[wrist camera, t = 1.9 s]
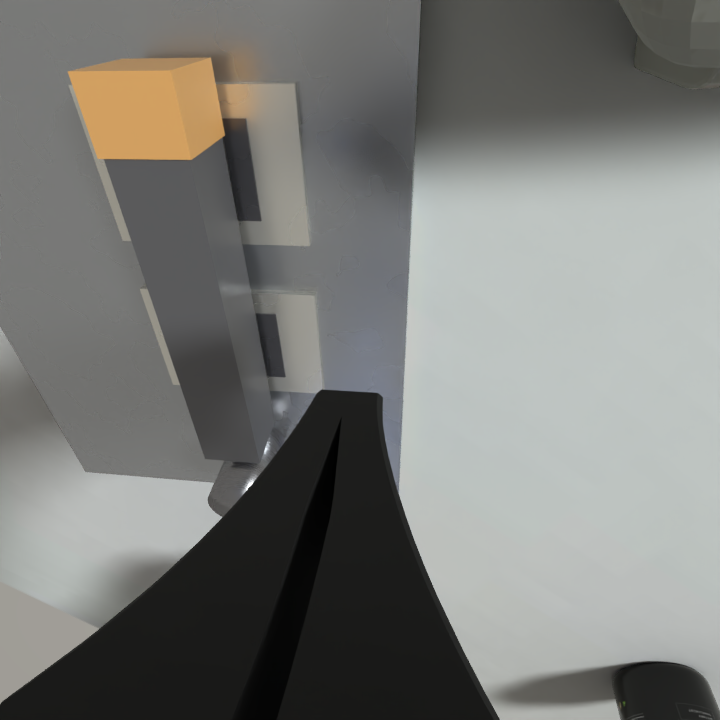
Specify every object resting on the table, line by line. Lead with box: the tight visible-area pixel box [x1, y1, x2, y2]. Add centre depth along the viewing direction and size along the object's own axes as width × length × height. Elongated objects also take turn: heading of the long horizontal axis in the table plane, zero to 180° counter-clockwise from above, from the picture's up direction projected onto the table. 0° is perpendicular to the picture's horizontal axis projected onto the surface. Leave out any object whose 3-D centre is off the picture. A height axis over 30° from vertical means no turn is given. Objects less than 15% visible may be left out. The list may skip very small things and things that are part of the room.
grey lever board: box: [0, 0, 421, 517], centre depth 19 cm, size 22×18×5 cm
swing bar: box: [68, 58, 275, 463], centre depth 17 cm, size 14×3×3 cm, turn 2°
